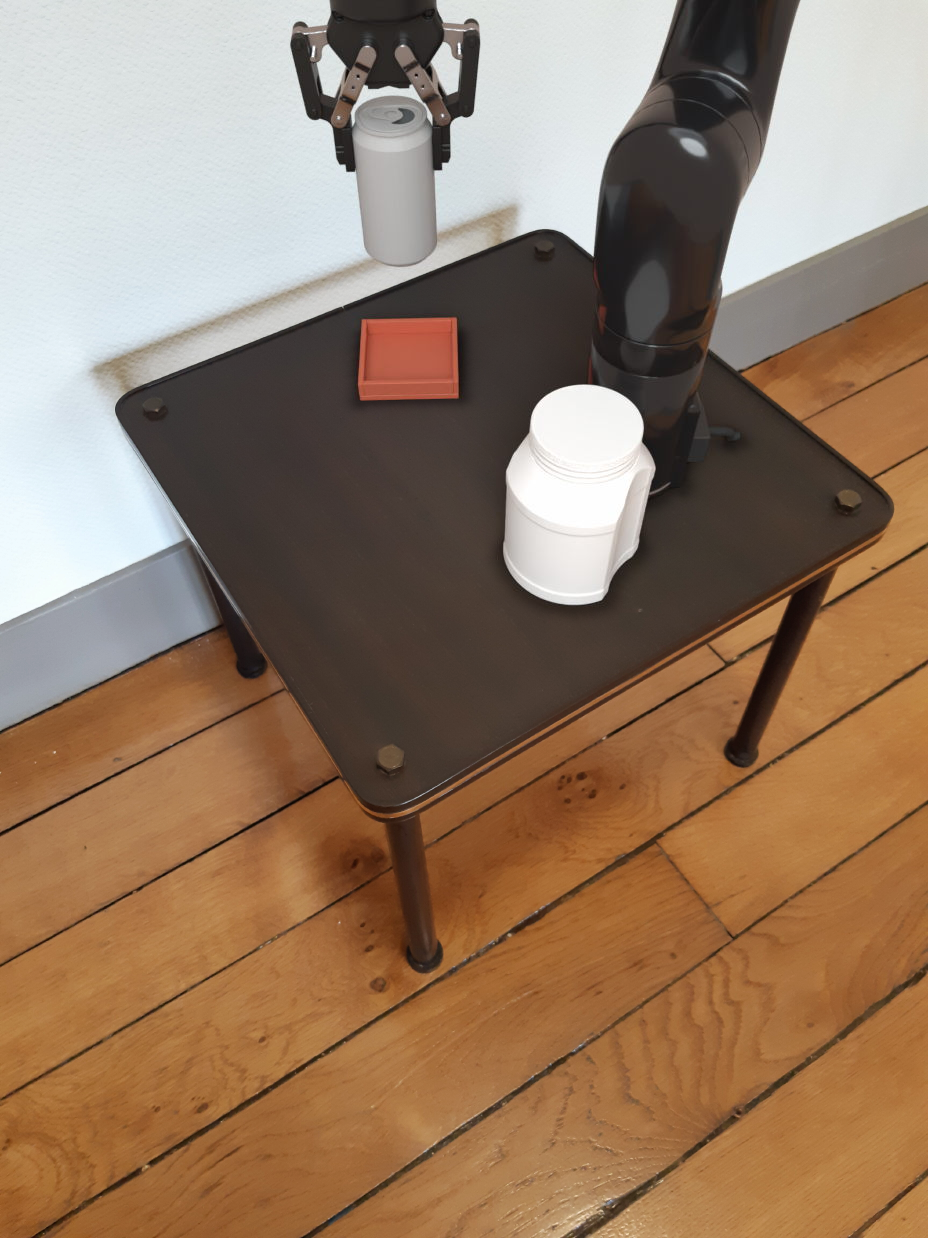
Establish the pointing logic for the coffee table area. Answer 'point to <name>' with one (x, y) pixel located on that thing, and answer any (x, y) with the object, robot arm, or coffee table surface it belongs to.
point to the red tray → (408, 359)
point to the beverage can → (395, 179)
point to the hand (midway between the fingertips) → (394, 165)
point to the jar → (576, 494)
